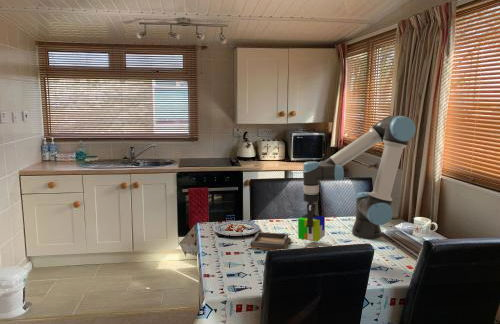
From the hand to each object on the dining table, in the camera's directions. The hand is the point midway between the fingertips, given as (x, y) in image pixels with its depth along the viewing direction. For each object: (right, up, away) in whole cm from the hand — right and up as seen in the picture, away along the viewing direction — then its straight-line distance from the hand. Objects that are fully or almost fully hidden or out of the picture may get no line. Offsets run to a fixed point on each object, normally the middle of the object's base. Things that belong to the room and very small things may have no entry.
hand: (311, 235), depth 193 cm
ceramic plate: (-38, -2, +22) cm, 44 cm away
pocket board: (-21, -4, +2) cm, 21 cm away
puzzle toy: (0, -1, 0) cm, 1 cm away
